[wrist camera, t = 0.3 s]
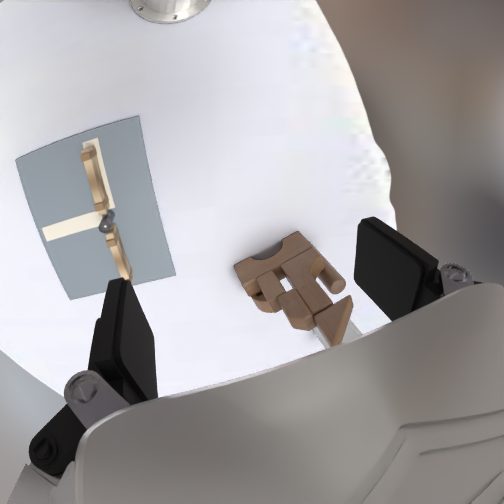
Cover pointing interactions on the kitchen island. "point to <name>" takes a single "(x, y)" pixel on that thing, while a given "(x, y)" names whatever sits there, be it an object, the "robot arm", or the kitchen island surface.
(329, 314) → the wooden toy
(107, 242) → the tan wooden bar
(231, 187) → the kitchen island surface
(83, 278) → the board
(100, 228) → the fence post
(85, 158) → the fixed fence rail
